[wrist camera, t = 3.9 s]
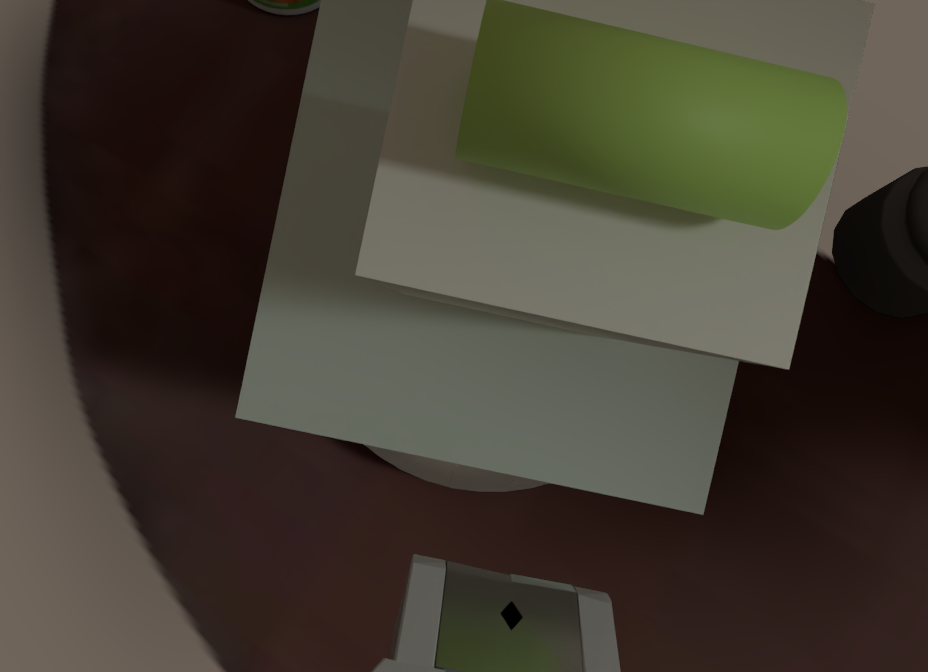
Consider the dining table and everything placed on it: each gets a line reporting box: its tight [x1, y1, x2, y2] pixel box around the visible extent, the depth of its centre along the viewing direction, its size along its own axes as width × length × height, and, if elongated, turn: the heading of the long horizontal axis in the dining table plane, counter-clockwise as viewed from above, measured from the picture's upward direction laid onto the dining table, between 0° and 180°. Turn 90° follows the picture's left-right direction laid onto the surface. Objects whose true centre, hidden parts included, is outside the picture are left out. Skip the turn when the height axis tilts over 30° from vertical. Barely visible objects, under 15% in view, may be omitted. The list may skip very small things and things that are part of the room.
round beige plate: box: [364, 444, 548, 492], centre depth 25 cm, size 16×16×8 cm
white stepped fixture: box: [235, 0, 875, 515], centre depth 13 cm, size 14×14×13 cm
